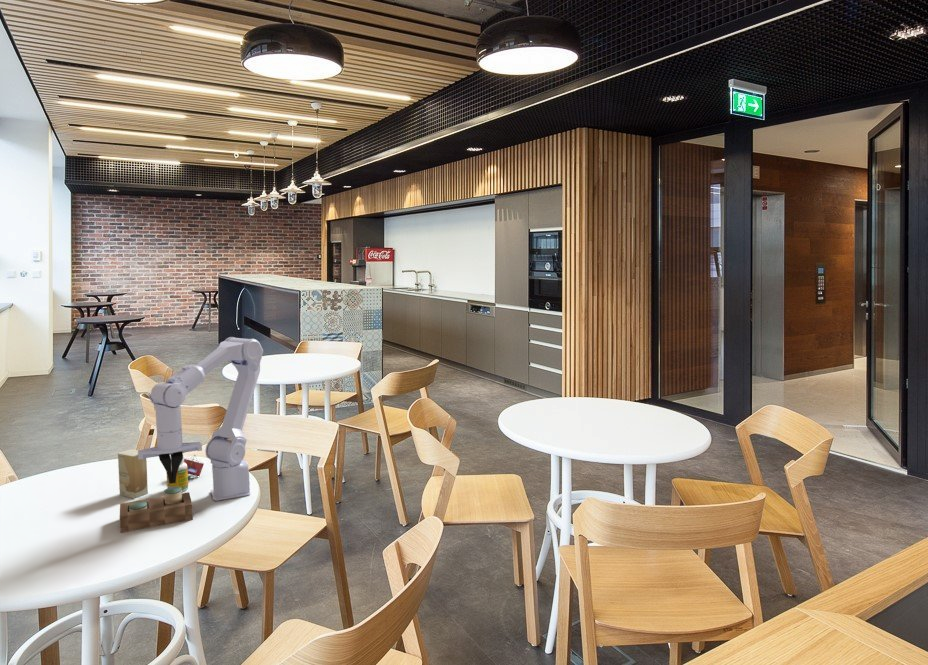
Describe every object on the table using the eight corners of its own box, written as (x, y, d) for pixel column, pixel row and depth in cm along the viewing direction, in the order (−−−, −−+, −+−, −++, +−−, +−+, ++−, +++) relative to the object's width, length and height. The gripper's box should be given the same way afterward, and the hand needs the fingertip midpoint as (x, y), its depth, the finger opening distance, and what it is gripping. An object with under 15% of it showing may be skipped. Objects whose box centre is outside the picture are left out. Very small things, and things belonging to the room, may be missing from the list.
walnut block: (190, 506, 164) (189, 492, 163) (192, 519, 156) (192, 504, 155) (121, 518, 156) (120, 503, 156) (120, 532, 148) (119, 516, 148)
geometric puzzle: (210, 465, 190) (192, 446, 188) (207, 472, 183) (189, 453, 181) (191, 480, 189) (172, 461, 186) (187, 488, 182) (168, 469, 180)
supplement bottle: (180, 494, 172) (178, 460, 171) (163, 492, 173) (161, 459, 172) (192, 487, 177) (190, 454, 176) (175, 485, 179) (174, 453, 177)
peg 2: (181, 500, 160) (180, 485, 160) (182, 506, 157) (182, 490, 156) (164, 503, 158) (163, 488, 158) (165, 509, 155) (164, 493, 154)
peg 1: (147, 515, 157) (146, 500, 156) (148, 521, 153) (147, 506, 153) (130, 518, 155) (129, 503, 154) (130, 525, 151) (128, 509, 151)
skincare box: (119, 495, 171) (116, 453, 170) (132, 490, 175) (129, 448, 174) (135, 499, 169) (133, 455, 167) (149, 493, 173) (146, 451, 171)
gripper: (198, 422, 162) (200, 472, 164) (135, 430, 155) (139, 482, 156) (202, 428, 156) (204, 480, 158) (137, 437, 149) (141, 491, 150)
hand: (172, 481), depth 157 cm, fingers closed
